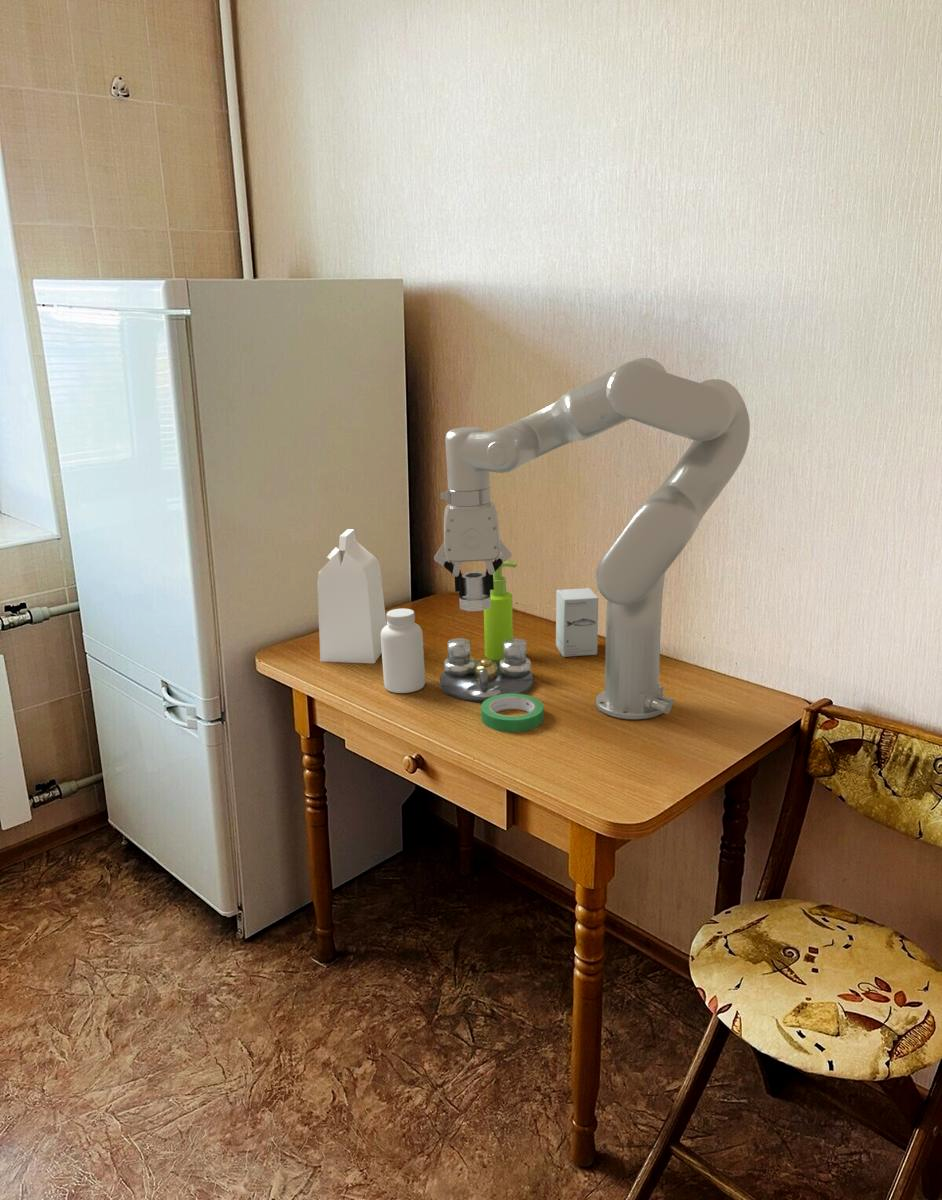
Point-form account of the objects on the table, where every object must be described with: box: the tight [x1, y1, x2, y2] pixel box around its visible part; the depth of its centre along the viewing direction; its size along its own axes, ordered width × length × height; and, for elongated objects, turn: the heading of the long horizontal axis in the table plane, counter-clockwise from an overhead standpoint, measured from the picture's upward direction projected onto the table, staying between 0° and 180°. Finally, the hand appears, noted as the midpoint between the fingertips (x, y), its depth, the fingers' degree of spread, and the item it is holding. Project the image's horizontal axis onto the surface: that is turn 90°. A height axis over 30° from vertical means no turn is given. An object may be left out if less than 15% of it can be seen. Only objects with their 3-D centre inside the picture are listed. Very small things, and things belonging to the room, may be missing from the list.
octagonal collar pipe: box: [458, 571, 491, 612], centre depth 177 cm, size 6×6×6 cm
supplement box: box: [555, 587, 599, 658], centre depth 197 cm, size 7×7×13 cm
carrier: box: [439, 637, 534, 703], centre depth 183 cm, size 18×18×7 cm
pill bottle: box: [381, 608, 426, 694], centre depth 181 cm, size 8×8×15 cm
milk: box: [316, 528, 387, 664], centre depth 198 cm, size 12×12×26 cm
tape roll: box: [480, 694, 545, 733], centre depth 168 cm, size 11×11×3 cm
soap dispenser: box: [483, 560, 518, 660], centre depth 195 cm, size 6×7×20 cm
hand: (474, 593), depth 177 cm, fingers closed on octagonal collar pipe, 4 cm apart
